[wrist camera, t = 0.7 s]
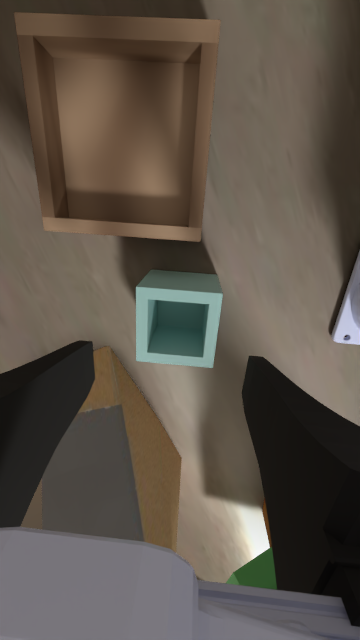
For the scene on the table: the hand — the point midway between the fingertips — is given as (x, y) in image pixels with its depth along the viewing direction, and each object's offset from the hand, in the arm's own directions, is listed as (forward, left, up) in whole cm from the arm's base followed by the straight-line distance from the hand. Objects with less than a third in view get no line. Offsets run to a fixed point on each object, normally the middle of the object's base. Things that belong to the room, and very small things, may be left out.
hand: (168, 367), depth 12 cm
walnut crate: (+4, -10, -9) cm, 14 cm away
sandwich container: (+6, +13, -10) cm, 17 cm away
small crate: (0, 0, -9) cm, 9 cm away
